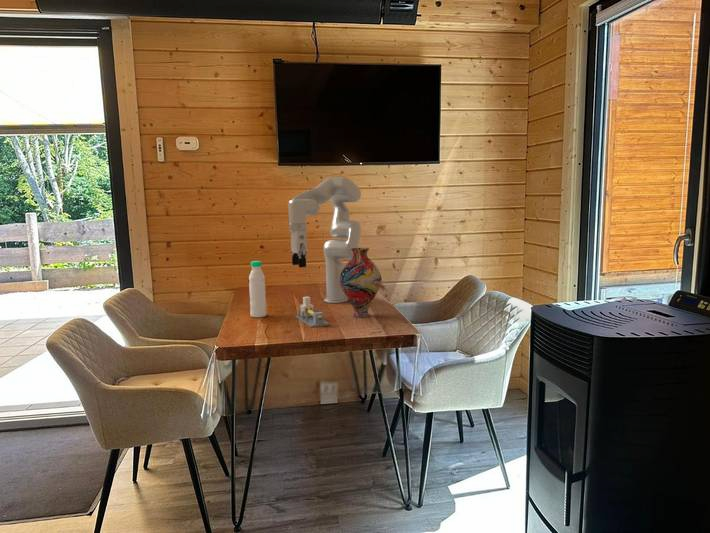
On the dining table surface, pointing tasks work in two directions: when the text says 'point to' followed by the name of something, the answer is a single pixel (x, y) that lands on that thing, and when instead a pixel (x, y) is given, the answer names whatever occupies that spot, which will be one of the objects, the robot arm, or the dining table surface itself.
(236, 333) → the dining table surface
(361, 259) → the vase
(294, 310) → the dining table surface
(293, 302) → the dining table surface
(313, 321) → the gray rack
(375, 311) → the dining table surface
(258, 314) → the water bottle
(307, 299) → the small white bottle
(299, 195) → the robot arm
